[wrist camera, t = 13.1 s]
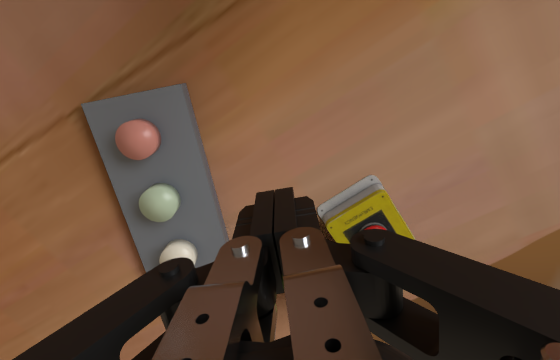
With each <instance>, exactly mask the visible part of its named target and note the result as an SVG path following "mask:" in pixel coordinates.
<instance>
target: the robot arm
mask: <svg viewBox="0 0 560 360" xmlns="http://www.w3.org/2000/svg"><path fill="white" fill-rule="evenodd" d="M284 289H285V297H286V304H287V311H288V319H289V326H290V334H291V335H289V336H286V337H283V338H281V339H278V340H275V341H274V339H275V330H276V320H277V308H276V304H275V303H276V294H280V293H284ZM403 289H404V290H406V291H408V292H410V293H412V294H414V295H416V296H418V297H420V298H422V299H424V300H426V301H427V302H429V303H430V304H431V305H432V306H433V307H434V308H435V310H436V311H437V313H438V314H436V313H434V312H432V311H430V310H428V309H426V308H424V307H422V306H420V305H418V304H416V303H414V302H412V301H410V300H408V299H406V298H404V297H403ZM158 316H161V319H162V321H163V324H164V326H165V329H166V331H165V332H164V333H163V334H162V335H161V336H159V337H158V338H157V339H156V340H155V341H153V342H152V343H151V344H150V345H149V346H147V347H146V348H145V349H144V350H143V351H141V352H140V353H139V354H138V355H137V356H135V357H134V358H133V359H132V360H560V290H558V289H555V288H552V287H549V286H546V285H544V284H541V283H538V282H535V281H532V280H529V279H526V278H523V277H520V276H517V275H515V274H512V273H509V272H506V271H503V270H500V269H497V268H495V267H492V266H489V265H486V264H483V263H480V262H477V261H474V260H471V259H469V258H466V257H463V256H460V255H457V254H454V253H451V252H448V251H445V250H443V249H440V248H437V247H434V246H431V245H428V244H425V243H422V242H420V241H417V240H414V239H411V238H408V237H405V236H402V235H399V234H396V233H394V232H391V231H388V230H383V229H367V230H363V231H360V232H358V233H356V234H354V235H353V236H352V237H351V239H350V244H347V243H336V242H332V241H330V240H328V239H326V238H325V237H324V235H323V233H322V232H321V230H320V226H319V222H318V218H317V214H316V210H315V206H314V202H313V200H312V199H310V198H309V197H307V196H305V197H299V198H294V192H293V187H289V188H283V189H277V190H275V191H274V190H271V191H265V192H259V193H256V199H255V205H249V206H245V207H244V208H243V209H242V210H241V211H240V212H239V215H238V220H237V223H236V227H235V231H234V234H233V238H232V240H230V241H228V242H226V243H225V244H224V245H222V247H221V248H220V249H219V252H218V254H217V256H216V258H215V261H214V262H211V263H209V264H206V265H203V266H200V267H198V268H195V266H194V263H193V261H192V260H191V259H189V258H184V257H180V258H174V259H170V260H167V261H165V262H163V263H161V264H159V265H158V266H156V267H154V268H153V269H151V270H150V271H148V272H147V273H145V274H144V275H142V276H141V277H139V278H138V279H136V280H134V281H133V282H131V283H130V284H128V285H127V286H125V287H124V288H122V289H121V290H119V291H117V292H116V293H114V294H113V295H111V296H110V297H108V298H107V299H105V300H104V301H102V302H100V303H99V304H97V305H96V306H94V307H93V308H91V309H90V310H88V311H87V312H85V313H83V314H82V315H80V316H79V317H77V318H76V319H74V320H73V321H71V322H70V323H68V324H66V325H65V326H63V327H62V328H60V329H59V330H57V331H56V332H54V333H53V334H51V335H49V336H48V337H46V338H45V339H43V340H42V341H40V342H39V343H37V344H36V345H34V346H32V347H31V348H29V349H28V350H26V351H25V352H23V353H22V354H20V355H19V356H17V357H16V358H14V359H12V360H120V351H121V349H122V347H123V345H124V344H125V343H126V342H127V341H128V340H129V339H130V338H131V337H133V336H134V335H135V334H136V333H138V332H139V331H140V330H142V329H143V328H144V327H145V326H147V325H148V324H149V323H151V322H152V321H153V320H154V319H156V318H157V317H158ZM371 332H372V333H373V334H375V335H376V336H378V337H379V338H381V339H382V340H384V341H385V342H387V343H388V344H390V345H391V346H390V345H388V344H386V343H383V342H380V341H377V340H374V339H373V337H372V335H371Z"/></svg>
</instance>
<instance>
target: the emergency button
mask: <svg viewBox="0 0 560 360" xmlns="http://www.w3.org/2000/svg"><path fill="white" fill-rule="evenodd" d="M317 212H318V215H319V216H320V218H321V219H322V221H323V222H324V223H325V226H326V228H327V230H328V231H329V233H330V234H331V236H332V237H333V238H334V240H335V241H336V243H347V244H350V239H351V237H352V236H353V235H354V234H356V233H358V232H360V231H363V230H367V229H383V230H388V231H391V232H394V233H396V234H399V235H402V236H405V237H408V238H411V239H414V240H416V239H415V237H414V236H413V234H412V232H411V231H410V229H409V228H408V226H407V224H406V223H405V221H404V220H403V218H402V216H401V215H400V213H399V211H398V210H397V208H396V207H395V205H394V203H393V202H392V200H391V199H390V197H389V195H388V194H387V192H386V190H385V189H384V187H383V186H382V184H381V182H380V181H379V179H378V178H377V177H376V176H374V175H369V176H367V177H365V178H363V179H362V180H360V181H358V182H357V183H355V184H354V185H352V186H350V187H349V188H347V189H345V190H344V191H342V192H341V193H339V194H337V195H336V196H334V197H332V198H331V199H329V200H327V201H326V202H324V203H323V204H321V205H320V206H319V207H318V209H317Z"/></svg>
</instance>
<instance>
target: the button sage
mask: <svg viewBox="0 0 560 360" xmlns="http://www.w3.org/2000/svg"><path fill="white" fill-rule="evenodd" d="M180 203H181V198H180V195H179V193H178V191H177V190H176V189H175V188H174V187H172V186H171V185H169V184H166V183H156V184H154V185H152V186H150V187H149V188H148V189H147V190H146V191H145V192H144V193H143V194H142V195H141V196H140V199H139V208H140V211H141V212H142V214H143V215H144V216H145V217H146V218H148V219H149V220H151V221H154V222H165V221H167V220H169V219H171V218H172V217H173V215H174V214H175V213H176V211H177V210H178V209H179V207H180Z"/></svg>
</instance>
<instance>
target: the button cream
mask: <svg viewBox="0 0 560 360" xmlns="http://www.w3.org/2000/svg"><path fill="white" fill-rule="evenodd" d="M180 257H184V258H189V259H191V260H192V261H193V263H194V265H195V263H196V260H197V258H198V252H197V249H196V247H195V246H194V245H193V244H192V243H191V242H189V241H187V240H183V239H176V240H173V241H171V242H169V243H168V244H167V246H166V247H165V249H164V250H163V252H162V253H161V255H160V259H159V262H160V264H161V263H163V262H165V261H167V260H170V259H174V258H180Z"/></svg>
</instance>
